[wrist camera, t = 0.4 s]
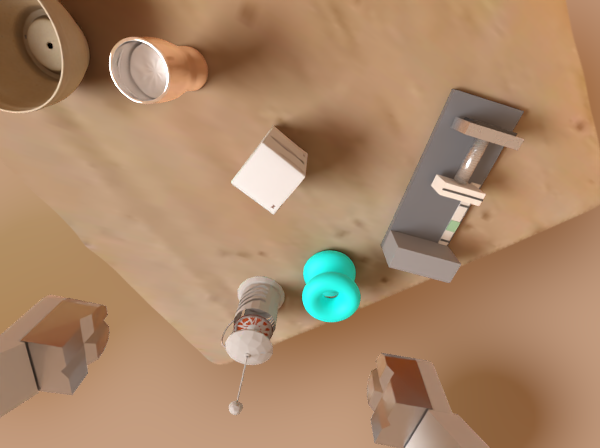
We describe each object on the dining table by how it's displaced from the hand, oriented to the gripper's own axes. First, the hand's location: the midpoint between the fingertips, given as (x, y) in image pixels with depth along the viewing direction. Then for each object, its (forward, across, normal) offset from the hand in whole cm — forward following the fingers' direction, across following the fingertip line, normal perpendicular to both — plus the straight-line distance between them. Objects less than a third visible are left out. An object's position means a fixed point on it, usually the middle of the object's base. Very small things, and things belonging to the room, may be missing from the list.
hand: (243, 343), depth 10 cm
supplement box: (+46, +2, +7) cm, 46 cm away
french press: (+46, +2, +38) cm, 59 cm away
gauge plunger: (+44, -26, 0) cm, 51 cm away
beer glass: (+46, +18, -3) cm, 49 cm away
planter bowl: (+46, +37, -2) cm, 59 cm away
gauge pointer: (+43, -26, +6) cm, 51 cm away
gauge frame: (+46, -26, +7) cm, 53 cm away
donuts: (+46, -11, +28) cm, 54 cm away
